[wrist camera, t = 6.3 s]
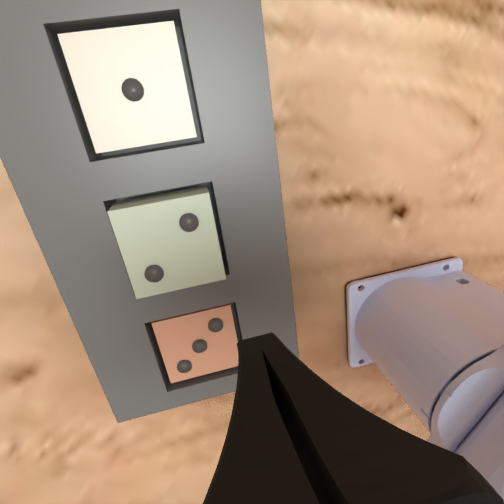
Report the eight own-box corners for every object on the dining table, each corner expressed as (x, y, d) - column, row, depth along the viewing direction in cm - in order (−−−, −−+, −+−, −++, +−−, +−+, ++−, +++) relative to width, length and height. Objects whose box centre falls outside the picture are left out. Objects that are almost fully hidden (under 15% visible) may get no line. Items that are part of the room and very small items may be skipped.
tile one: (174, 31, 15) (173, 19, 13) (195, 135, 17) (196, 137, 15) (71, 44, 14) (55, 33, 13) (104, 150, 16) (95, 153, 14)
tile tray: (241, -11, 16) (256, -44, 13) (285, 341, 25) (300, 373, 22) (-19, 17, 14) (-75, -13, 11) (126, 381, 23) (117, 423, 20)
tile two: (206, 185, 17) (209, 193, 15) (222, 265, 18) (226, 280, 17) (114, 202, 16) (106, 212, 14) (140, 282, 18) (136, 300, 16)
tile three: (226, 290, 21) (230, 306, 19) (237, 346, 22) (242, 366, 21) (153, 306, 20) (151, 324, 18) (171, 363, 22) (170, 385, 20)
